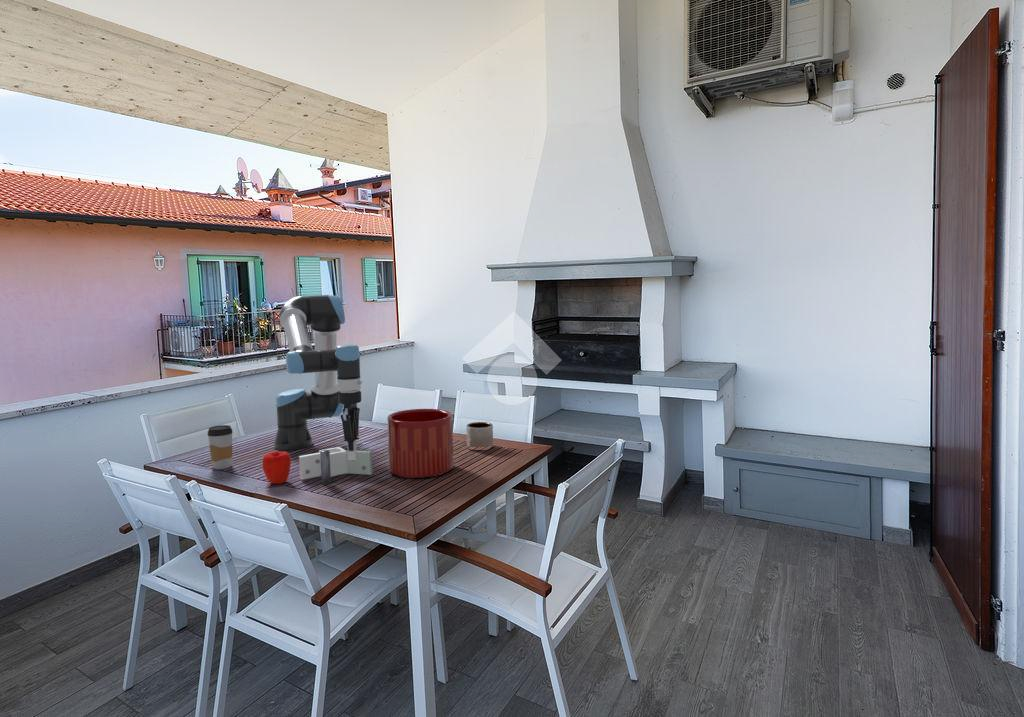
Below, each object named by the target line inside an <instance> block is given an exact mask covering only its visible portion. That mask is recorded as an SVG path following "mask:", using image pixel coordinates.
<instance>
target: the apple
mask: <svg viewBox="0 0 1024 717" xmlns="http://www.w3.org/2000/svg"><path fill="white" fill-rule="evenodd" d="M291 463H292V459H291V455H290V453H289V452H287V451H283V450H280V451H279V450H278V451H272V452H269V453H266V454H265V455H264V456H263V458H262V470H263V473H264V475H265V477H266V479H267V481H268V482H269V483H270V484H274V485H275V484H277V485H278V484H283V483H285V482H287V480H288V479H289V477H290V476H289V475H290V471H291Z"/></svg>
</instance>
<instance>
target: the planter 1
mask: <svg viewBox="0 0 1024 717" xmlns="http://www.w3.org/2000/svg"><path fill="white" fill-rule="evenodd" d="M386 419H387V422H386V423H387V448H388V449H387V450H388V453H387V454H388V470H389V472H390V473H392V474H393V475H395V476H397V477H399V478H404V477H405V478H404V479H413V478H419V479H424V478H423V477H430V478H432V477H431V476H435V475H439V474H442V473H444V474H446V473H448V472H449V470H450V469H451V468H452V469H453V467H454V433H453V431H454V430H453V429H454V428H453V425H454V424H453V413H452V412H451V411H448V410H445V409H439V408H414V409H413V408H412V409H404V410H399V411H395V412H393V413H390V414H389V415H388V416H387V418H386ZM452 469H451V470H452ZM451 470H450V471H451ZM447 471H448V472H447ZM445 472H446V473H445ZM442 475H443V474H442ZM439 476H440V475H439ZM435 477H436V476H435Z"/></svg>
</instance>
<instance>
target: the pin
mask: <svg viewBox="0 0 1024 717" xmlns="http://www.w3.org/2000/svg"><path fill="white" fill-rule="evenodd" d="M320 459H321V476H320V477H321V484H322V485H327V484H331V483H332V476H331V472H330V452H329V450H324V449H321V451H320Z"/></svg>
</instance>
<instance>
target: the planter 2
mask: <svg viewBox="0 0 1024 717" xmlns="http://www.w3.org/2000/svg"><path fill="white" fill-rule="evenodd" d="M492 444H493V445H494V426H493V423H490V422H486V421H485V422H484V421H477V422H476V421H475V422H470V423H467V424H466V447H467V446H469V447H476V448H477V447H487V446H490V445H492Z"/></svg>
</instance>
